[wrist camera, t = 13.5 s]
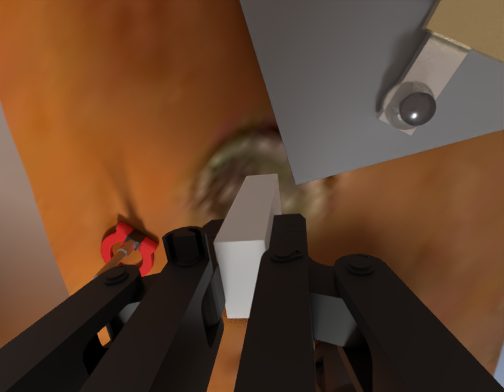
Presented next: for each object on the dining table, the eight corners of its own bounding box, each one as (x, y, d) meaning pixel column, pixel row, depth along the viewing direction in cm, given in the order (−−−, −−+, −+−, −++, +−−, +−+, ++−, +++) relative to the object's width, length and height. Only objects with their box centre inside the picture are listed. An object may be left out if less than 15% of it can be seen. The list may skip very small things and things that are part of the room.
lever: (410, 134, 37) (438, 152, 29) (371, 114, 36) (390, 127, 29) (539, -53, 29) (620, -93, 22) (491, -80, 29) (557, -129, 22)
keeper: (485, 64, 34) (510, 64, 30) (410, 32, 33) (425, 27, 29) (518, 12, 32) (549, 5, 28) (439, -22, 31) (459, -34, 27)
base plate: (550, 112, 36) (560, 114, 34) (296, 181, 43) (296, 185, 41) (542, -171, 28) (555, -183, 26) (231, -30, 35) (229, -34, 33)
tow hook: (142, 282, 53) (165, 245, 49) (95, 347, 41) (121, 305, 38) (97, 256, 52) (117, 215, 48) (37, 314, 41) (56, 267, 37)
